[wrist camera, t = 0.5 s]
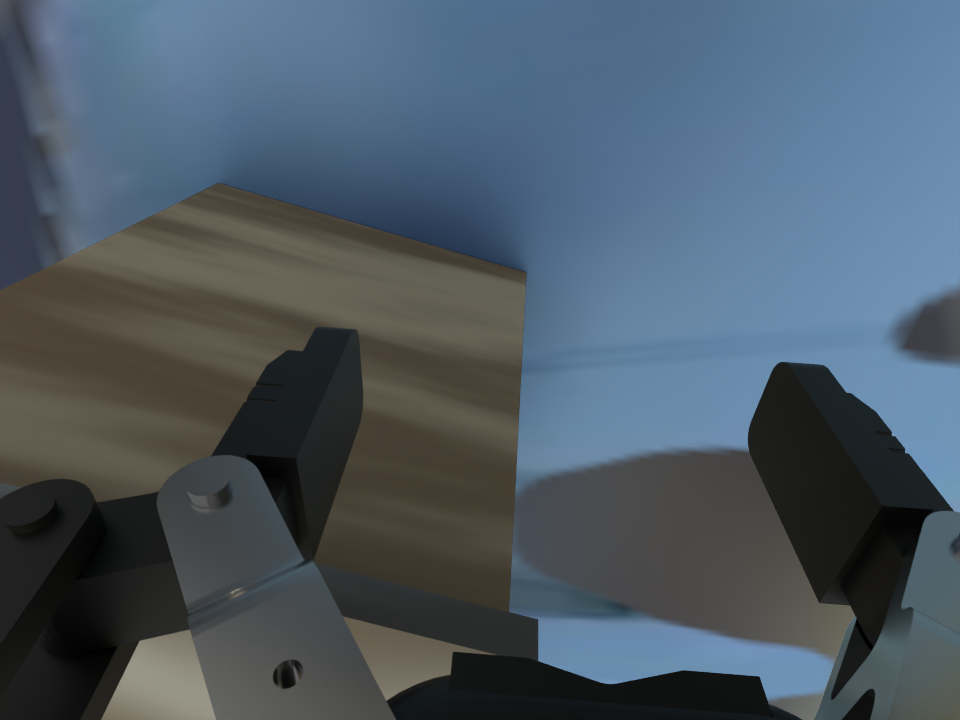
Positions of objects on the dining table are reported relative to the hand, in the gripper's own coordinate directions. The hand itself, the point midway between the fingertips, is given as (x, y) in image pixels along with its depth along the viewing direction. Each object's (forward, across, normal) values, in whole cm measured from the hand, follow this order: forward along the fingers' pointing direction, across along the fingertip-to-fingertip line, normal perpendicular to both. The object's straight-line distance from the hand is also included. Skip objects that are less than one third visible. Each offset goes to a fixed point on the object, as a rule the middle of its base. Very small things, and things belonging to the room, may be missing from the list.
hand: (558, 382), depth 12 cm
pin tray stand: (+18, +9, +10) cm, 23 cm away
